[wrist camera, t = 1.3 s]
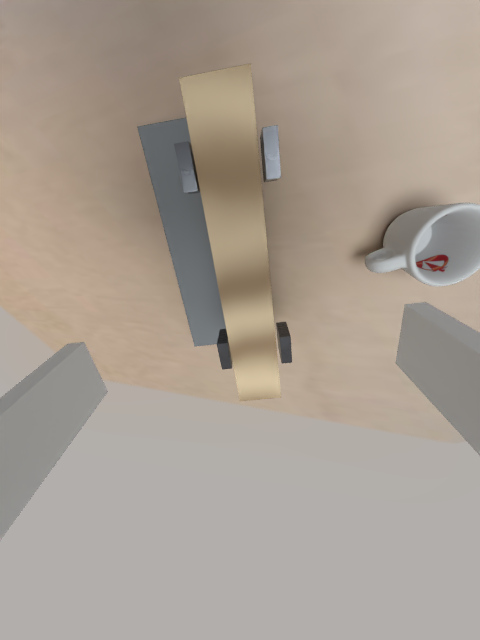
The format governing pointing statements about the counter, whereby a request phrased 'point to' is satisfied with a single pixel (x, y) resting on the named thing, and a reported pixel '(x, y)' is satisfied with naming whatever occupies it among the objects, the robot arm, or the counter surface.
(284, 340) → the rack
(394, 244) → the cup
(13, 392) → the robot arm
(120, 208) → the counter surface
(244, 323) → the rail
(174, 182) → the grey base plate
